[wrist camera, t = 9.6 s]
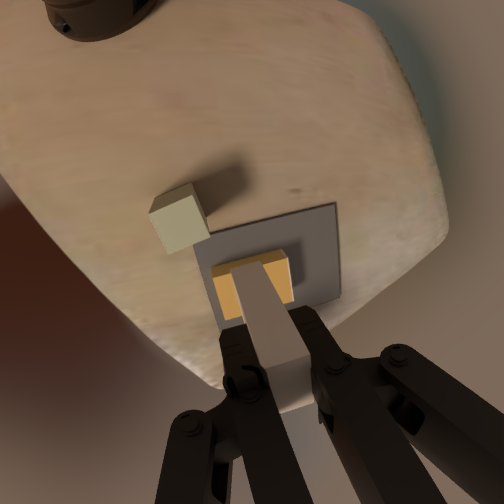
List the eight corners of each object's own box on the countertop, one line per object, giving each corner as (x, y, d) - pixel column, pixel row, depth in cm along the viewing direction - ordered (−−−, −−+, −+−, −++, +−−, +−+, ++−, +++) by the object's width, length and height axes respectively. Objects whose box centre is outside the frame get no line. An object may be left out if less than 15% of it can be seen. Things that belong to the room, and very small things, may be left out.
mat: (191, 238, 39) (191, 240, 38) (332, 203, 41) (334, 204, 40) (219, 330, 46) (220, 333, 45) (338, 295, 48) (339, 297, 47)
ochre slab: (281, 248, 41) (210, 267, 40) (288, 257, 39) (212, 278, 38) (287, 290, 44) (222, 308, 43) (294, 301, 42) (225, 320, 41)
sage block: (154, 198, 36) (148, 214, 29) (191, 182, 36) (192, 194, 30) (170, 232, 38) (168, 254, 32) (206, 217, 38) (210, 237, 32)
